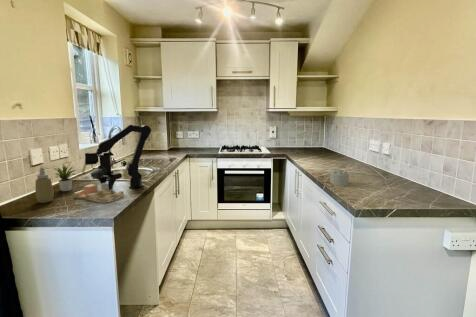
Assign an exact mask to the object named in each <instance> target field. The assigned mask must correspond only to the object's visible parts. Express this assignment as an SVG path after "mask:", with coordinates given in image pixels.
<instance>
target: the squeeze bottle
mask: <svg viewBox="0 0 476 317" xmlns="http://www.w3.org/2000/svg"><path fill="white" fill-rule="evenodd" d="M39 169H40V170H39V174H37V175H36V177H37V178H36V179H35V198H36V200H37V201H38V203H40V204H42V203H44V204H45V203H50V202H52V201H53V200H54V195H55V192H54V186H53V184H52V179H51V178H50V177H49V174H48V173H46V172H45V169H44V167H40V168H39Z"/></svg>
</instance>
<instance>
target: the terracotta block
mask: <svg viewBox="0 0 476 317" xmlns="http://www.w3.org/2000/svg"><path fill="white" fill-rule="evenodd" d="M83 190H85V195H87V194H90V193H93V192H97V191H98V184H92V183H91V184H88V185H84V186H83Z"/></svg>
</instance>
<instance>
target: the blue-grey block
mask: <svg viewBox="0 0 476 317" xmlns="http://www.w3.org/2000/svg"><path fill="white" fill-rule="evenodd" d="M100 189H101V190H103V189H109V184H108V181H106V182H104V183H100ZM112 190H113V191H114V186H113V187H112V189H111V192H113V191H112Z"/></svg>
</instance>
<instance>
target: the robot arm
mask: <svg viewBox="0 0 476 317" xmlns="http://www.w3.org/2000/svg"><path fill="white" fill-rule="evenodd" d="M132 132H134V133H138V140H137V143H136V146H135V150H134V153H133V156H132V158H131V161H130V162H129V161H127V162H126V164H127V165H126V167H125V169H126V173H127V174H128V176H130V180H129V183H130V184H129V185H130V186H128V188H129V189H134V188H136V189H135V190H137V188H138V189H141V188H144V187H145V185H143V181H142V180H143V179H142V176H143V175H142V174H141V173H140V172H139V163H140V159H141V156H142V153H143V151H144V150H143V149H144V147H145V143H146V141H147V139H148V138H149V137H150V136H151V135H150V134H151V133H152V129H151V127H150V126H149V125H145V124H144V125H134V124H128V125H127V126H126V127H124V128H122V129H121V130H119V132H117V133H116V134H115V135H113V136H112V137H110V138H107V139H104V140H102V141H101V142H99V143H98V147H97V149H96V150H95V152H85V153H84V157H85V158H84V162H85V166H90V165H97V164H98V163H99V165H98V166H97V168H96V169H95V170H93V171H92V172H91V173H90V177H91V178H92V179H96V180H98V182H99V183H100V184H101V183H104V182H108V184H109V190H111V189H112V187H113V188H114V184H115V182H116V180H119V179H121V178H123V175H122V173H121V172H114V171H112V167H113V164H112V163H111V161H112V160H111V156H113V157H114V153H113V152H112V151H110V150H111V149H112V148H113V147H114V146H115V145H116V143H118V142H119V141H121V140H122V139H123V138H125V137H126V136H128V135H130V133H132Z"/></svg>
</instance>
